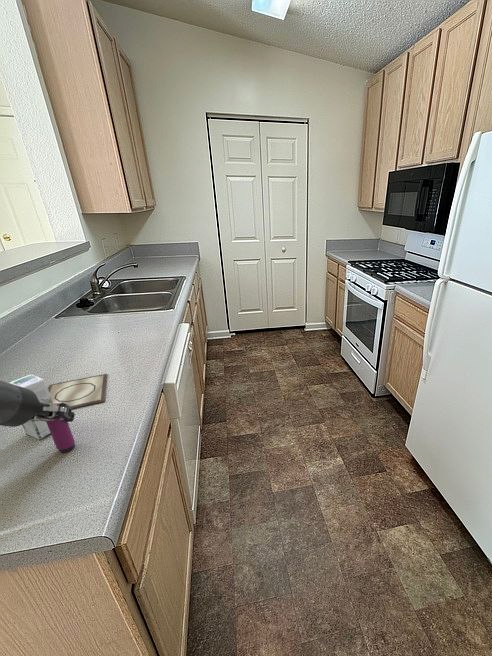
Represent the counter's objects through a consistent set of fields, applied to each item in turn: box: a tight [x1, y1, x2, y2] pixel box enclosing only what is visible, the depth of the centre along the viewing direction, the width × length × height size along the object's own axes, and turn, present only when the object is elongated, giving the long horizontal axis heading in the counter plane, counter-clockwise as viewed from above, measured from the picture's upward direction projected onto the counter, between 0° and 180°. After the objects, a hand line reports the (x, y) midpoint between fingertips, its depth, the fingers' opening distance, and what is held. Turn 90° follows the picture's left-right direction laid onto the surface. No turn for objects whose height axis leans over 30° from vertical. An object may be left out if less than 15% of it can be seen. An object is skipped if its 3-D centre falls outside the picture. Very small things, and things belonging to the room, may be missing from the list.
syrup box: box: [9, 374, 53, 441], centre depth 80 cm, size 6×6×14 cm
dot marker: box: [46, 403, 76, 453], centre depth 75 cm, size 4×4×11 cm
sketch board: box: [47, 373, 108, 410], centre depth 99 cm, size 16×18×1 cm
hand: (62, 417), depth 76 cm, fingers closed on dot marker, 3 cm apart
